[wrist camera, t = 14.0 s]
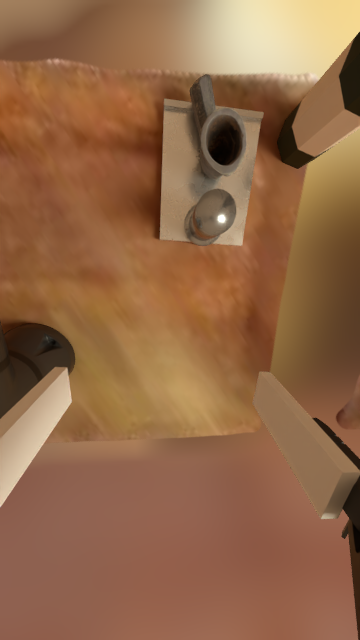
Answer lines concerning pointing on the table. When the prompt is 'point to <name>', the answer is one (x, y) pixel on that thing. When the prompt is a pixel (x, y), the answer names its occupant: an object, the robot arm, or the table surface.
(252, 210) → the table surface
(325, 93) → the wine bottle
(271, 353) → the table surface
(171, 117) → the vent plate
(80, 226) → the table surface
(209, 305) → the table surface
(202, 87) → the pipe
